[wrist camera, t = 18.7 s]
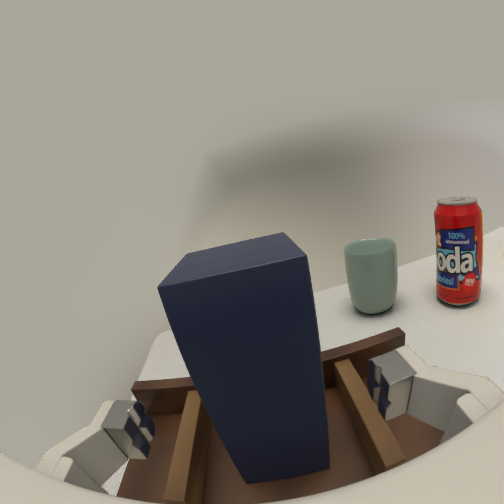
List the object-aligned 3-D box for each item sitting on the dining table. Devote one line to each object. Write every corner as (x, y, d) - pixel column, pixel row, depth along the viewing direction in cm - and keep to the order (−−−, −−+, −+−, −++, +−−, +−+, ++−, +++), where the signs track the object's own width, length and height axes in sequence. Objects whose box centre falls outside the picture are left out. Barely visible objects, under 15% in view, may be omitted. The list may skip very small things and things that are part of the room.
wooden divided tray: (147, 538, 9) (81, 493, 7) (170, 439, 21) (134, 381, 19) (450, 482, 9) (490, 419, 7) (392, 394, 21) (398, 326, 19)
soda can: (485, 292, 30) (486, 196, 27) (468, 314, 27) (471, 203, 24) (448, 283, 37) (445, 195, 34) (427, 302, 34) (423, 202, 31)
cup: (348, 300, 43) (342, 242, 41) (393, 293, 40) (389, 235, 38) (351, 323, 36) (344, 256, 34) (403, 315, 33) (401, 247, 31)
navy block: (245, 484, 11) (156, 286, 9) (244, 428, 16) (185, 253, 13) (330, 468, 11) (307, 253, 8) (314, 415, 16) (284, 231, 13)
